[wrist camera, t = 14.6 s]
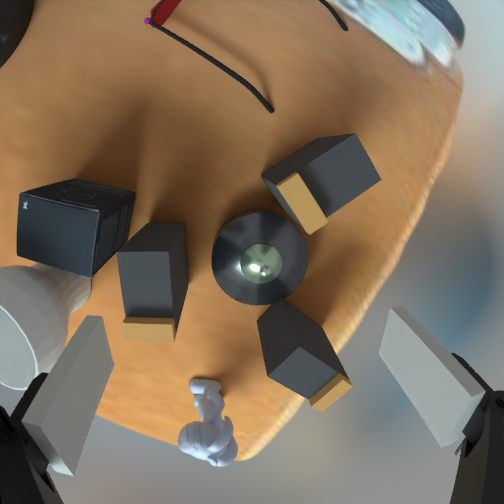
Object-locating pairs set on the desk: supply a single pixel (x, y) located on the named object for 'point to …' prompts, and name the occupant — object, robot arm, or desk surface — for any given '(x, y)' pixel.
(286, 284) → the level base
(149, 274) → the grey tan block
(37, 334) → the cup
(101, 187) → the box
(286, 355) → the dark grey block
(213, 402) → the toy figurine
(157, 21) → the glasses
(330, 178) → the dark grey tan-ended block
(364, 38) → the desk surface
